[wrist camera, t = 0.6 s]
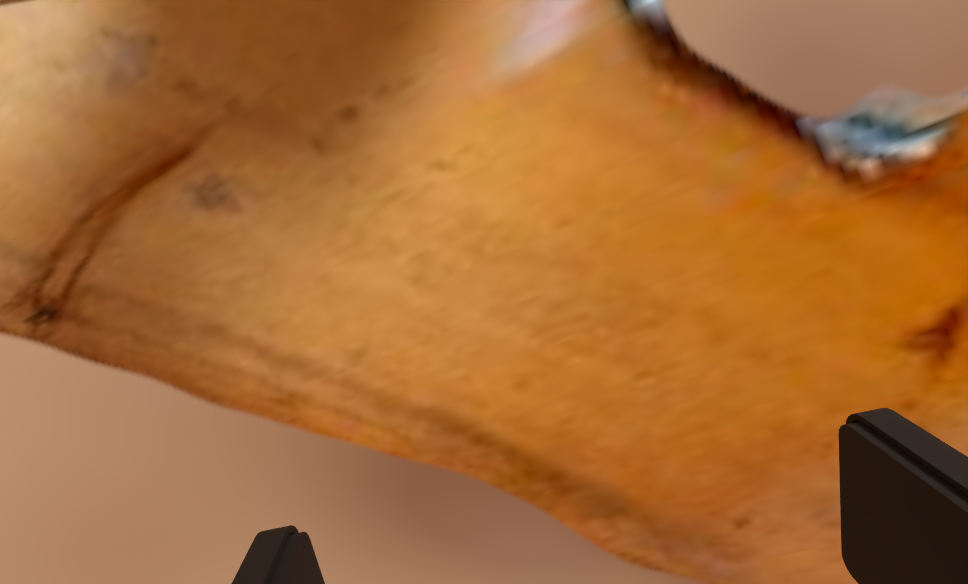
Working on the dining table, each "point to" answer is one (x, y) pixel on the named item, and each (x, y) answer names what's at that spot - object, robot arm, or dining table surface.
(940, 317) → the dining table surface
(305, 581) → the robot arm
